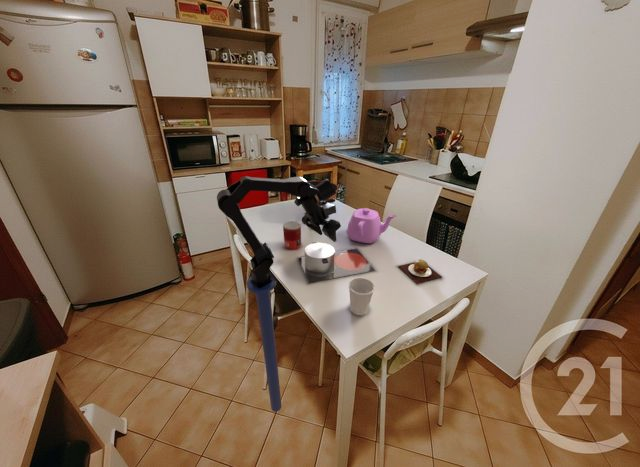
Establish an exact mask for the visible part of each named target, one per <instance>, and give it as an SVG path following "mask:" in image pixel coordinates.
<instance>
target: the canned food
mask: <svg viewBox="0 0 640 467" xmlns="http://www.w3.org/2000/svg"><path fill="white" fill-rule="evenodd" d="M282 230H283V232H282V233H283V243H284V244H283V245H284V247H285V248H286V249H287V250H291V251H293V250H298V249H300V248H301V246H302V226H301V223H300V222H298V221H287V222H284V223H283V225H282Z"/></svg>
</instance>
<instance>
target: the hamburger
mask: <svg viewBox="0 0 640 467" xmlns="http://www.w3.org/2000/svg"><path fill="white" fill-rule="evenodd" d="M397 267H398V269H400V271H402V272H403V273H404V275H406V276H407V277H408V278H409V279H410V280H411V281H413V282H414V283H415V284H416V285H418V284H423V283H426V282H430V281H435V280H438V279H441V278H443V276H442V275H441V274H440V273H439V272H437V271H436V270H434V269H433V268H432V267H430V266H429V264H428V262H427V261H426V260H423V259H417V260H415V261H414V262H411V263H405V264H401V265H398V266H397Z"/></svg>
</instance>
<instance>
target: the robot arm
mask: <svg viewBox="0 0 640 467" xmlns="http://www.w3.org/2000/svg"><path fill="white" fill-rule="evenodd" d="M307 181H308V180H306V179H305V178H303V177H302V176H293V177H292V176H291V177H288V178H268V177H267V178H266V177H254V176H253V177H252V176H248V175H245V176H244V175H243V176H242V177H241V178H240V179H238V180H237V181H236V182H234V183H232V184H230V185H229V186H227V188H225V189H221V190H220V191H218V192H217V194H216V201H217V207H218V209H219V211H221V212H222V213H223V214H224V215H225V216H226V217H227V218H228V219H229V220H231V221H232V222H233V224H234V225H235V227H236V228H237V230H238V231H239V232H240V234H241V235H242V237H243V238H244V240H245V241H246V243H247V245H248V246H249V248H250V249H251V251H252V252H253V257H251V258H250V264H251V265H250V266H251V268H252V269H250V274H251V276H252V280H250V282H251V283H252V284H254V285H255V286H256V287H258V288H259V289H260V288H262V287H264V286H266V285H267V284H269V283H271V282H272V281H273V280H272V279H271V267H272V266H273V264H274V258H275V256H274V254H273V252H272V250H271V247H269V246H268V243H267V242H266V241H265V242H264V243H262V242H261V240H260V239H259V238H258V236H257V235H256V233H255V232H254V230H253V229H252V227H251V225H250V224H249V222H248V221H247V219H246V217H245V216H244V214H243V213H242V211H241V208H240V205H239V204H240V203H241V202H242V201H243V200H244V198H246V196H247V195H248V194H249V193H250V192H267V193H269V192H271V193H285V194H288V195H291V196H294V197H295V199H294V202H293V203H294V205H296V207H300V206H302V208H303V210H304V212H305V213H304V215H303V216H302V217H301V223H302V224H303V225H305V226H306V227H308V229H310V230H312V231H314V232H315V233H316V234H318V235H319V236H322V235H323V234H324V236H325V237H327V238H328V239H329V240H330V241H332V242H333V243H336V242H337V231H338V230H339V229H341V227H342V225H341V223H340V221H338V220H337V219H336V220H335V219H329V218H330V216H331V215H333V214H337V207H336V206H337V205H336V204H335V203H326V202H325V201H326V200H328V199H329V198H331V197H332V196H334V195H336V196H337V193H336V190H335V188H334V187H333V186H332V184H331V183H332V182H331V181H330V180H329V179H328V178H325V179H324V180H321V181H322V182H321V183H319V184H318V185H316V186H313V185H312V184H309V183H308V182H307ZM330 182H331V183H330ZM297 196H298V197H297ZM315 196H316V197H317V199H318V200H319V201H320V203H318V201H317V200H316V198H315ZM321 200H322V201H321ZM328 219H329V220H328Z"/></svg>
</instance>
